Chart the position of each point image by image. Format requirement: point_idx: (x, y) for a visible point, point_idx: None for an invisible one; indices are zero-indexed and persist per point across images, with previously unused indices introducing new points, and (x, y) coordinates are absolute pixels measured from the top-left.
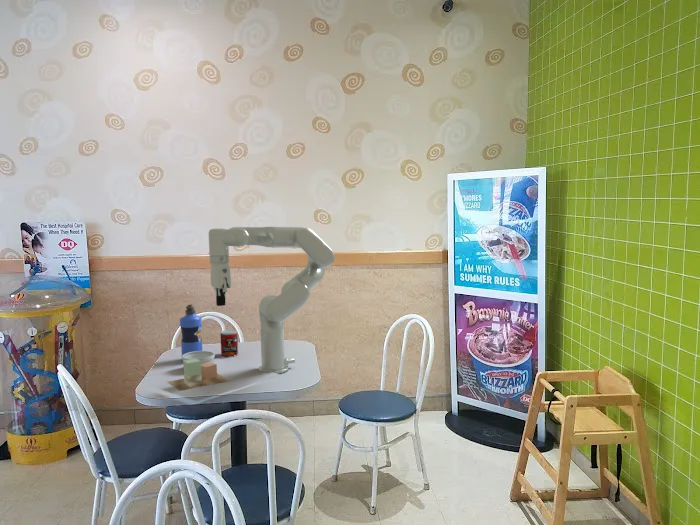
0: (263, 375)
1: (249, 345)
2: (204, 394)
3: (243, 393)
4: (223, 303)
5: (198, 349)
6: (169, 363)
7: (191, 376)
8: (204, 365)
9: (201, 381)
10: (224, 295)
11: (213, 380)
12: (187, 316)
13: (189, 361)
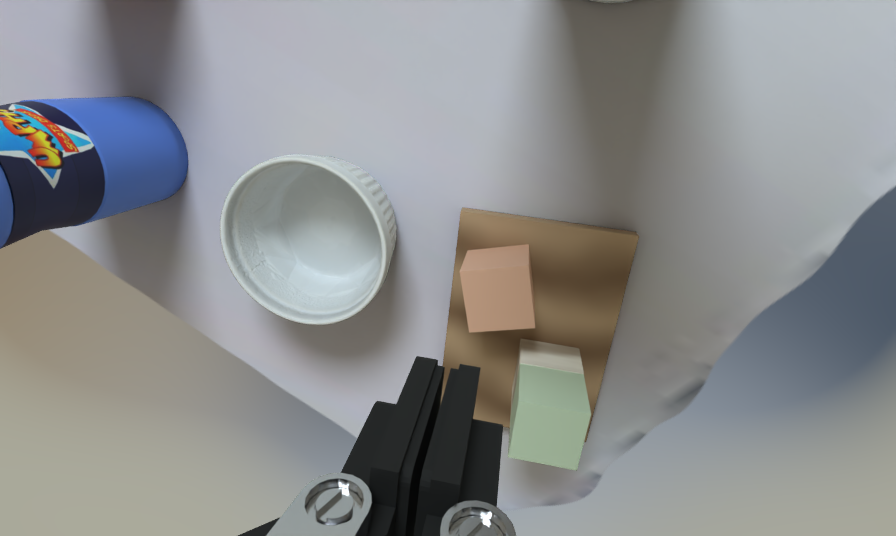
0: (659, 14)
1: None
2: (670, 381)
3: (816, 270)
4: (500, 428)
5: (137, 148)
6: (144, 255)
7: None
8: (498, 317)
9: (579, 355)
10: (498, 527)
11: (569, 286)
12: None
13: (547, 448)
